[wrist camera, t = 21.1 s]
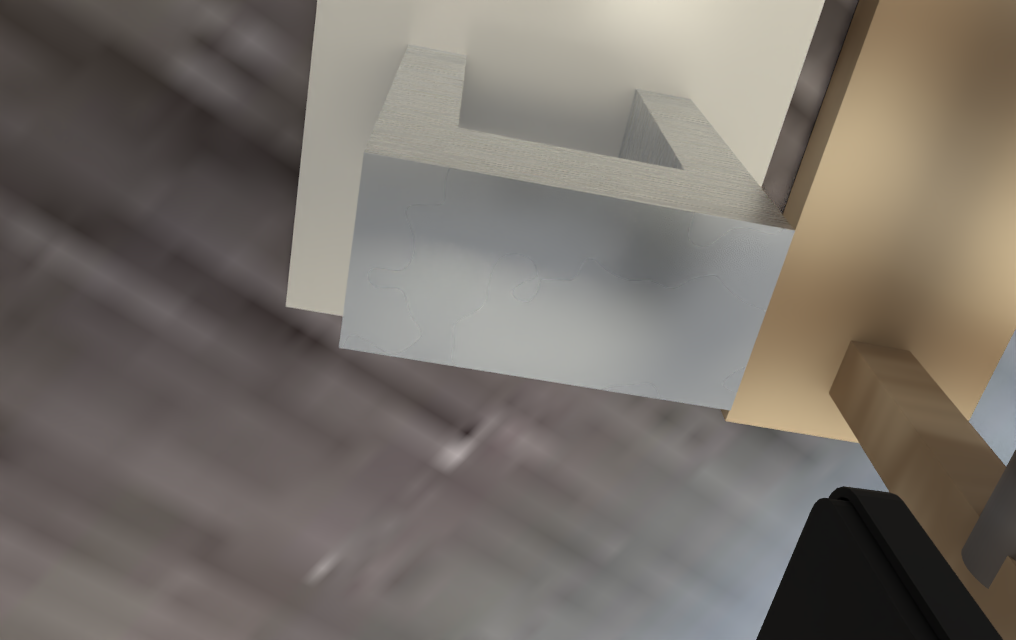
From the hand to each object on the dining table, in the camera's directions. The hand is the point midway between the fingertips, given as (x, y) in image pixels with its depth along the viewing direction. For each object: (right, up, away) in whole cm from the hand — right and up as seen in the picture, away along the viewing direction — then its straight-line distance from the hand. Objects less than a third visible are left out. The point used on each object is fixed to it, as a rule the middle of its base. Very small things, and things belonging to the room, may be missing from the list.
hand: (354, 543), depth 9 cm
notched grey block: (+2, +6, +11) cm, 12 cm away
